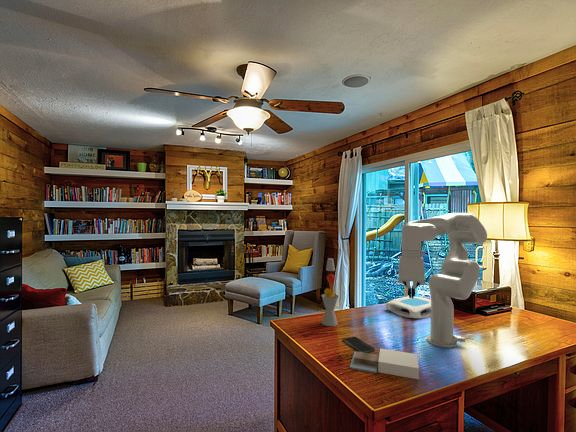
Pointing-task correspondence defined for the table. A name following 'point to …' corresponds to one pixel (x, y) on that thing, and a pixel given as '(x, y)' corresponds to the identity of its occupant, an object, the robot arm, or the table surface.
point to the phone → (358, 345)
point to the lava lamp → (330, 297)
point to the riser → (398, 363)
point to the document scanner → (410, 306)
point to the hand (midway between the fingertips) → (411, 297)
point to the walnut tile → (366, 359)
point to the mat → (362, 366)
